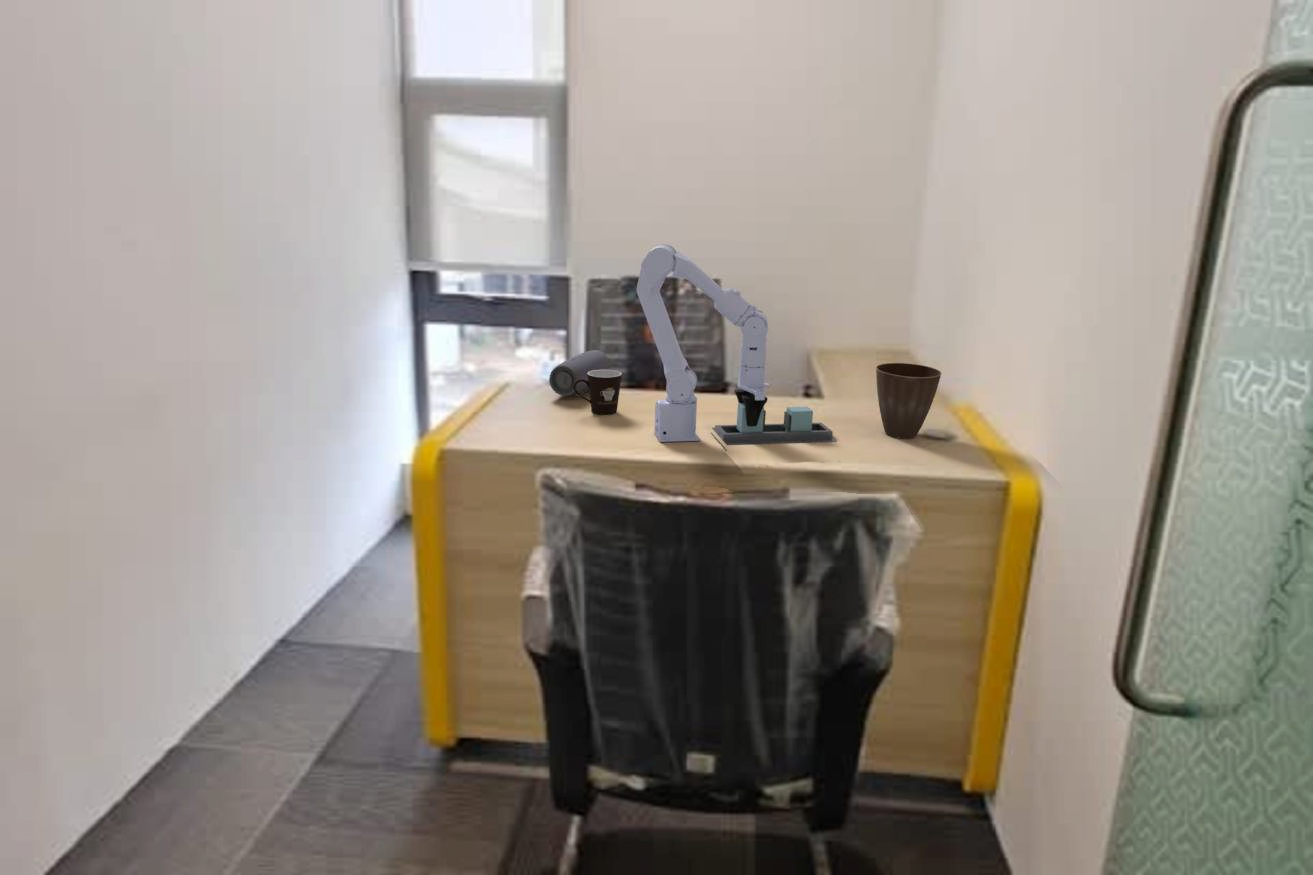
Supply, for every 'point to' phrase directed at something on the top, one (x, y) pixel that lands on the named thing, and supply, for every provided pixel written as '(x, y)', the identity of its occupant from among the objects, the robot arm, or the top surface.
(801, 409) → the light blue block
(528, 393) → the top surface
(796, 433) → the rail
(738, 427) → the lidded storage box
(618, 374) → the coffee mug
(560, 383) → the bluetooth speaker
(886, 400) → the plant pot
